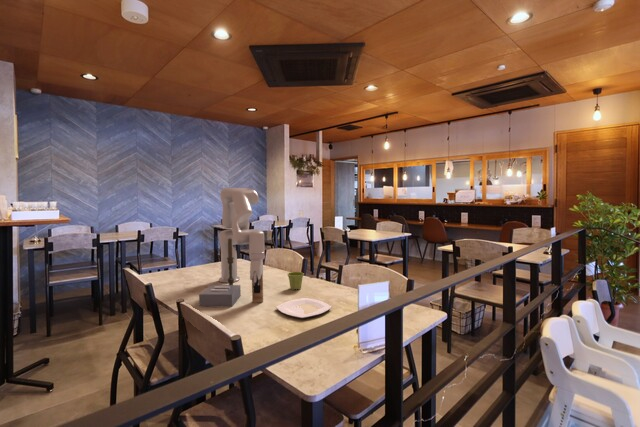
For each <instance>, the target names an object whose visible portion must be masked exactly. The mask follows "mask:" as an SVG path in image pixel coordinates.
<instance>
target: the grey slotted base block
mask: <svg viewBox="0 0 640 427" xmlns="http://www.w3.org/2000/svg"><path fill="white" fill-rule="evenodd" d="M241 296H242V295H241V285H240V284H233V285H229V284H210V285H208V286H207V287H206V288H205V289H204V290H203V291H201V292H200V293H199V294H198V297H199V299H198V303H199V307H207V308H208V307H212V308H213V307H214V308H215V307H219V308H221V307H230V308H232V307H233V306H234V305H235V304H236V302H237V301H238V300H239V299H240V298H241Z"/></svg>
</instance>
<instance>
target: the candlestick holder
mask: <svg viewBox="0 0 640 427" xmlns="http://www.w3.org/2000/svg"><path fill="white" fill-rule="evenodd" d="M232 246H233V245H232V239H228V258H227V260H228V261H227V262H228V264H229V275H230V276H229V279H228V282H229V283H228V285H234V283H235V282H234V278H233V277H232V263H233V259H234V257H232Z"/></svg>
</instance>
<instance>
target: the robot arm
mask: <svg viewBox="0 0 640 427" xmlns="http://www.w3.org/2000/svg"><path fill="white" fill-rule="evenodd" d="M219 195H220V201H221V204H222V214H221V217H222V220H221V221H222V227H223V228H224V230H222V231H220V232H219V234H218V241H219V245H220V265H221V267H220V268H221V271H220V272H221V273H220V274H221V277H220V278H218V282H220V283H224V284H227V283H228V284H229V282H228V279H229V276H230V275H229V264H228V262H227V261H228V260H227V258H228V239H232V257H234V259H233V263H232V277H233V278H234V282H233V283H237V282H239V281H240V280H241V278H240V276H238V252H237V249H235V247H234V246H236V245H241V246H242V245H243V246H244V245H248V254H249V257H248V258H249V261H250V264H249V266H250V267H249V279H250V280H251V281H252V279H253V278H254V293H260V279H261V275H262V274H263V275H264V260H265V258H266V255H265V254H266V253H265V250H266V248H265V247H266V246H265V232H264V231H263V230H261V229H257V228H254V229H249V225H250V224H249V222H250V218H251V217H252V216H253V213H254V212H253V209H252V206H255V205H258V203H259V199H260V198H259V194H258V193H257V191H256V190H255V189H252V188H250V187H226V188H223V189H221V190H220V194H219ZM253 276H254V277H253ZM257 278H258V279H257Z"/></svg>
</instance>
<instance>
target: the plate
mask: <svg viewBox="0 0 640 427" xmlns="http://www.w3.org/2000/svg"><path fill="white" fill-rule="evenodd" d="M301 304H311V305H315V306H317V307H319V308H320V309H318V310H317V311H315V312H313V313H308V314H304V310H303V309H302V308H301V306H300V308H299V306H298V305H301ZM295 306H297V308H296V307H295ZM293 307H294V308H293ZM275 308H276V310H278V311H279V312H281V313H282V314H283V315H287V316H290V317H295V318H298V319H305V318H311V317H314V316H315V317H316V316H318V315H321V314H323V313H326V312H327V311H329V310H331V309H332V308H333V307H332V306H331V305H330V304H328V303H327V302H325V301H322V300H319V299H315V298H310V297H309V298H307V297H301V298H295V299H292V300H287V301H285V302H283V303H281V304H279V305H277V306H275Z"/></svg>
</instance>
